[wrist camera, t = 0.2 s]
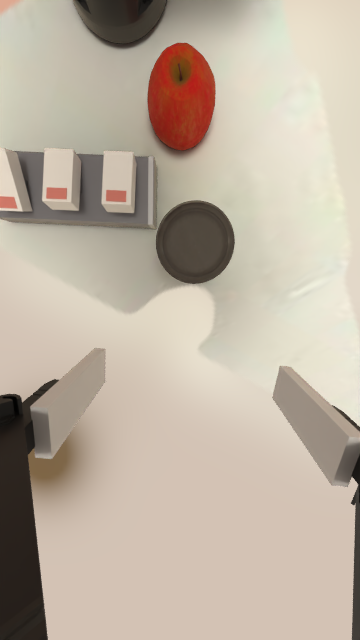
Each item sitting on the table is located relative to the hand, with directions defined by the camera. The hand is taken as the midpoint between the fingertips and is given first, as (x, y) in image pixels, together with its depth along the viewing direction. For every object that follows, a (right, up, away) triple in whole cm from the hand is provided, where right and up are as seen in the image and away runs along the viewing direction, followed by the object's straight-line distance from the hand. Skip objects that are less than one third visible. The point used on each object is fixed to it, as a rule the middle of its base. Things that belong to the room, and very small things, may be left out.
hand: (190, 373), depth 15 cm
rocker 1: (-28, +26, +18) cm, 43 cm away
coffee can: (+1, +17, +25) cm, 31 cm away
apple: (-1, +38, +20) cm, 43 cm away
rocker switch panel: (-19, +27, +23) cm, 40 cm away
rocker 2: (-19, +26, +18) cm, 37 cm away
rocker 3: (-10, +25, +18) cm, 33 cm away
